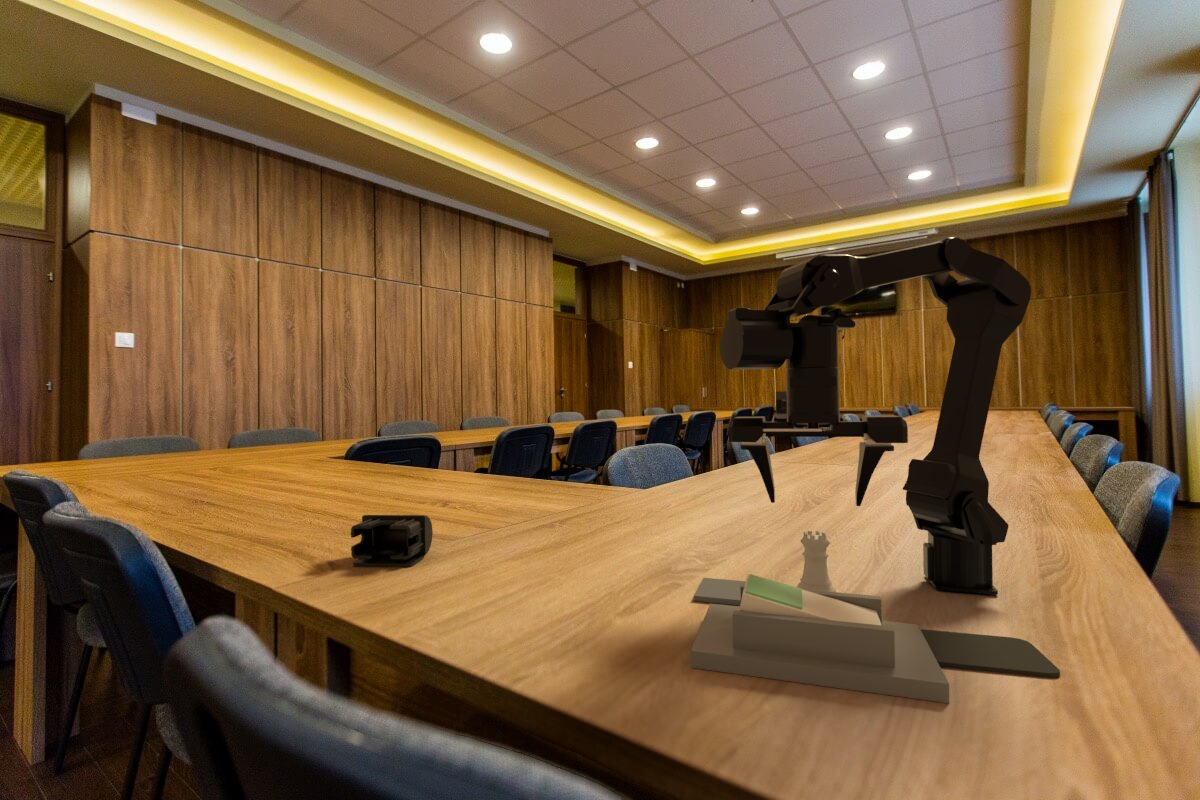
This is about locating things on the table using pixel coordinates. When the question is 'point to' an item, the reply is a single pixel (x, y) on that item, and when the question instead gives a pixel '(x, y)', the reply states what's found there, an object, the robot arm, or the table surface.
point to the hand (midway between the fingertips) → (814, 503)
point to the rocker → (800, 603)
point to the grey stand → (821, 650)
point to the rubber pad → (719, 591)
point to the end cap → (391, 540)
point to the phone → (988, 654)
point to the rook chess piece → (815, 563)
